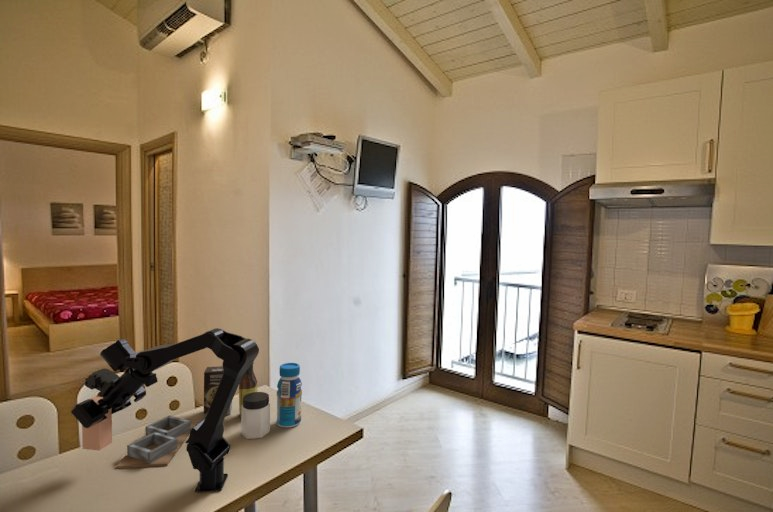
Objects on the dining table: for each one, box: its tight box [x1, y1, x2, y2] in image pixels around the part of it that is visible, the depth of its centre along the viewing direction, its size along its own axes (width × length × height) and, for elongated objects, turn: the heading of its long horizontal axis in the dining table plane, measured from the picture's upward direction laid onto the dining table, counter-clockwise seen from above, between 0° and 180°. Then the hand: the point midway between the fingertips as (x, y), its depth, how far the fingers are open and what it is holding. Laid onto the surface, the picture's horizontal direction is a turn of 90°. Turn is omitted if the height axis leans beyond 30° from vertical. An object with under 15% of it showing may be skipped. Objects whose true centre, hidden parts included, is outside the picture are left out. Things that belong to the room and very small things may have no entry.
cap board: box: [115, 415, 198, 469], centre depth 119 cm, size 24×13×4 cm, turn 8°
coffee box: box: [202, 365, 233, 418], centre depth 140 cm, size 9×6×16 cm
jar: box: [240, 391, 271, 440], centre depth 127 cm, size 9×8×12 cm
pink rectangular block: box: [81, 396, 113, 451], centre depth 105 cm, size 5×4×12 cm
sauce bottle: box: [238, 360, 258, 417], centre depth 139 cm, size 6×6×20 cm
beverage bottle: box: [276, 362, 303, 429], centre depth 134 cm, size 8×8×20 cm
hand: (92, 421), depth 105 cm, fingers closed on pink rectangular block, 4 cm apart
